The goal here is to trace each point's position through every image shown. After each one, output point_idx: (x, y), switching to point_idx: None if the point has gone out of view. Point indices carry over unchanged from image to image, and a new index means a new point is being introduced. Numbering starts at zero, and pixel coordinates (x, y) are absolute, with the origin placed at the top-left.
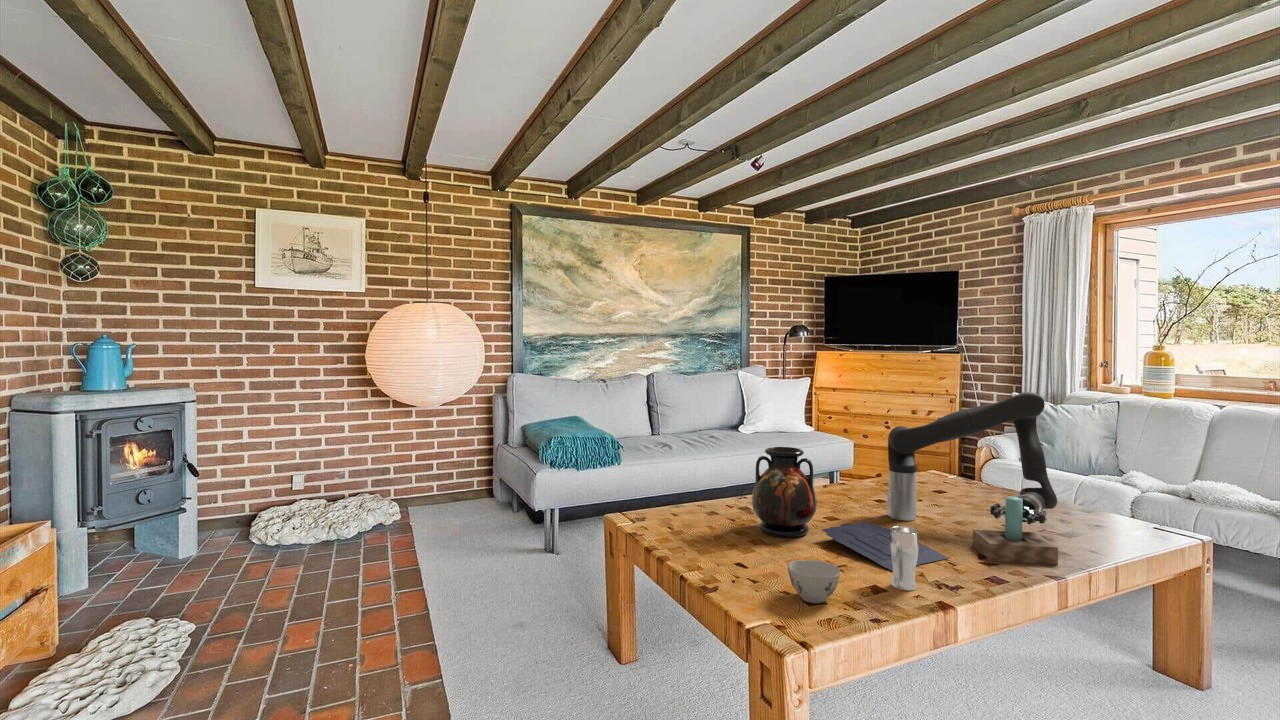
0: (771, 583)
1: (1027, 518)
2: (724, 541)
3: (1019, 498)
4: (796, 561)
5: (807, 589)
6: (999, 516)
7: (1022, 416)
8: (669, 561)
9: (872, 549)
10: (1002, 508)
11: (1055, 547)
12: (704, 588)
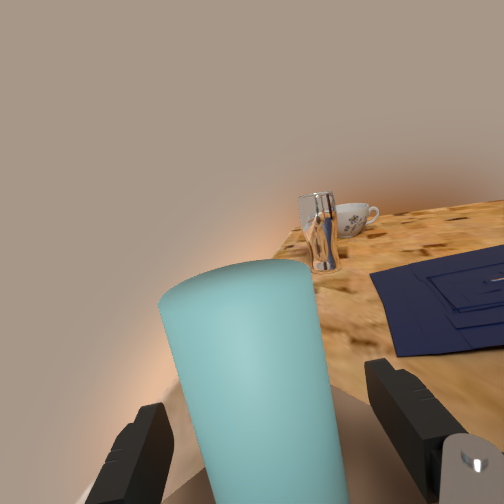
0: (394, 226)
1: (163, 407)
2: None
3: (188, 308)
4: (367, 204)
5: None
6: (398, 449)
7: None
8: (483, 202)
9: (465, 267)
10: (448, 484)
11: None
12: (402, 213)
